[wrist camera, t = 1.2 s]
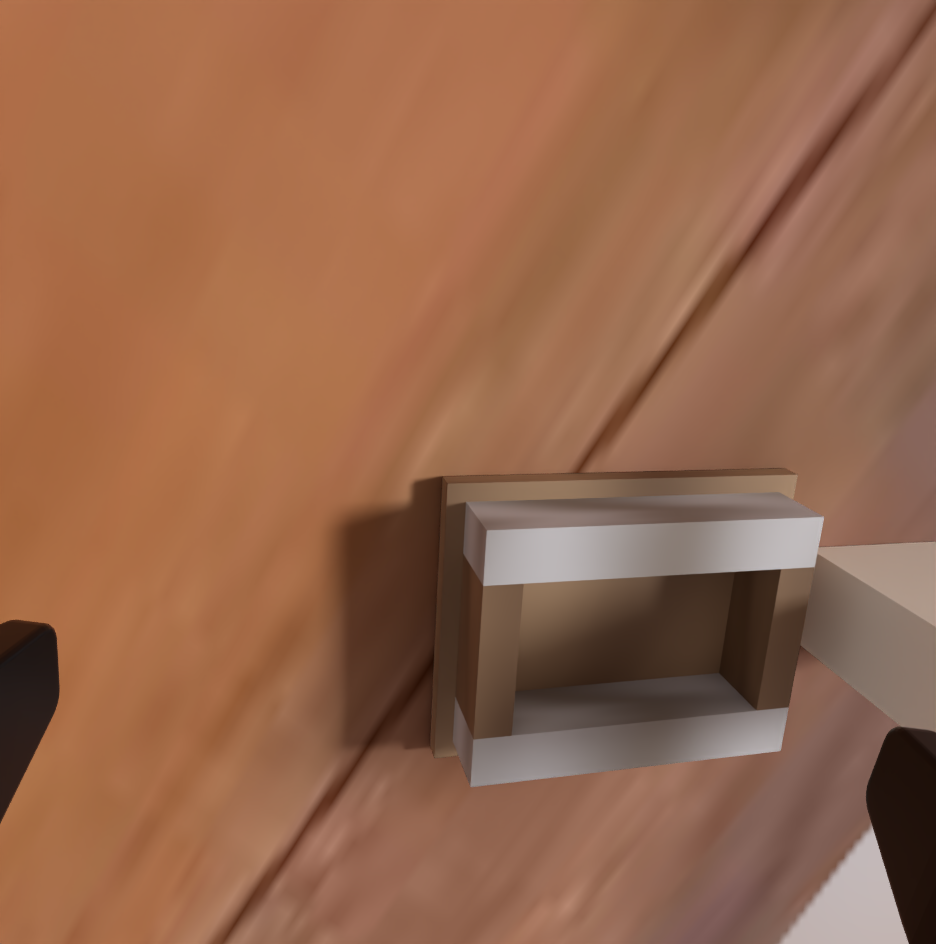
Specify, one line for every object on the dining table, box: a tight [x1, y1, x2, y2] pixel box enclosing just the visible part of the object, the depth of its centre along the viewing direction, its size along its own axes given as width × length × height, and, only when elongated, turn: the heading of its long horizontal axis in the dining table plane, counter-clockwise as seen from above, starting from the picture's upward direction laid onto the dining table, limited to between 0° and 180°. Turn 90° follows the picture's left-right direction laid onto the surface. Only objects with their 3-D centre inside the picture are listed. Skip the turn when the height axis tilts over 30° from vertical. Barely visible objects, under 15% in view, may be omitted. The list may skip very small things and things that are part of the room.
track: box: [430, 468, 824, 787], centre depth 23 cm, size 10×8×3 cm
